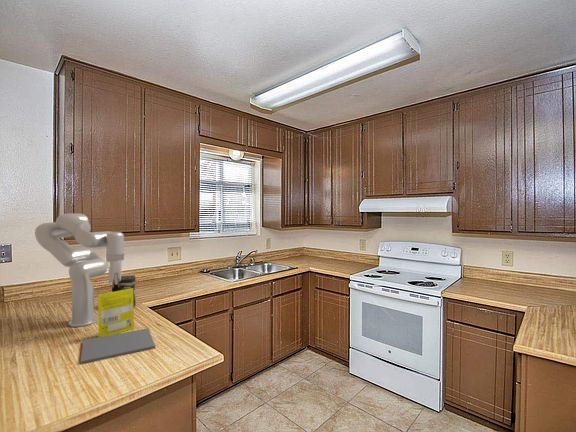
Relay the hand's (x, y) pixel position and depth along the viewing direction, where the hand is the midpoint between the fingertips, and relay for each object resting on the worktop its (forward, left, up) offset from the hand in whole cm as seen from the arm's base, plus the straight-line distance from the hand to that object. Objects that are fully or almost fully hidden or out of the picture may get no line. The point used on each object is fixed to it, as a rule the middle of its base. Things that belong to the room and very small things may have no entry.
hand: (115, 294), depth 151 cm
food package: (+9, 0, -16) cm, 19 cm away
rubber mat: (+23, 0, -16) cm, 28 cm away
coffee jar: (-33, +7, -16) cm, 38 cm away
